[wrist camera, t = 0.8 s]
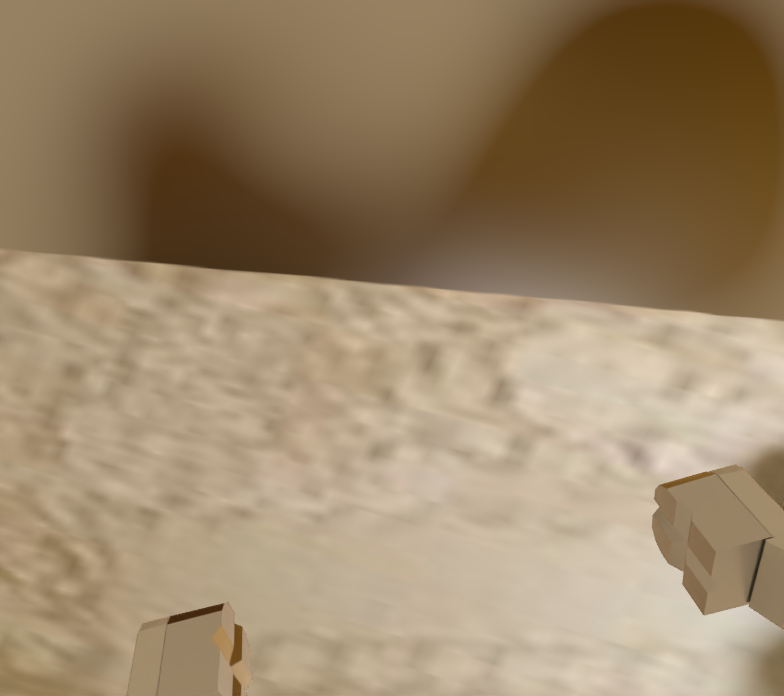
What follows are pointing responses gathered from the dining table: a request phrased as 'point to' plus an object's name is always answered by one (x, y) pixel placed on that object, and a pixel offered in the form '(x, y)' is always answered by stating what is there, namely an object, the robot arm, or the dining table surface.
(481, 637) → the dining table surface
